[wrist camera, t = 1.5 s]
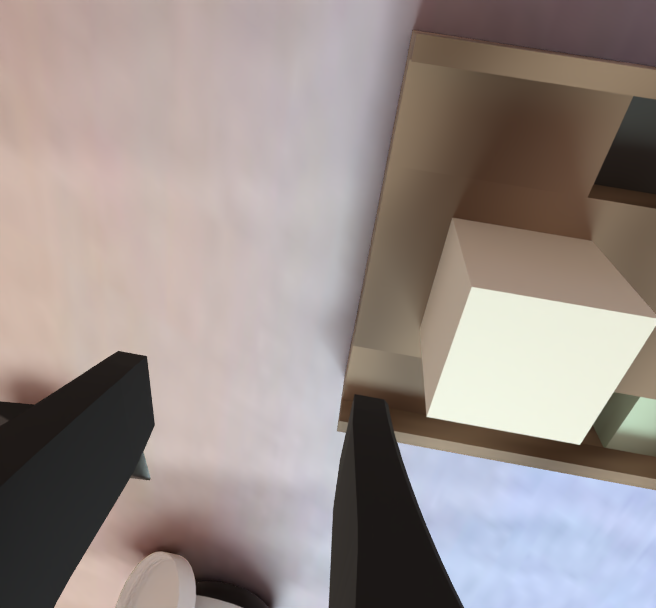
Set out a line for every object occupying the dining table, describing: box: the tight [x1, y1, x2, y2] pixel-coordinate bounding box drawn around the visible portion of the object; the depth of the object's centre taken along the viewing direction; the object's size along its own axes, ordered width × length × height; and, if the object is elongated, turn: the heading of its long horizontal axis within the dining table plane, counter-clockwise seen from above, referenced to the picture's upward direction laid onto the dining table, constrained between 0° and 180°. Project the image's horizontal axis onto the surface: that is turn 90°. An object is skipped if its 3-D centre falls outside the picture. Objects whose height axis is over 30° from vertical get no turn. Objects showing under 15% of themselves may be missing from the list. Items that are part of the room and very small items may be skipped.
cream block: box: [420, 218, 656, 445], centre depth 14 cm, size 4×4×4 cm
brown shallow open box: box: [337, 30, 656, 490], centre depth 16 cm, size 18×14×3 cm
